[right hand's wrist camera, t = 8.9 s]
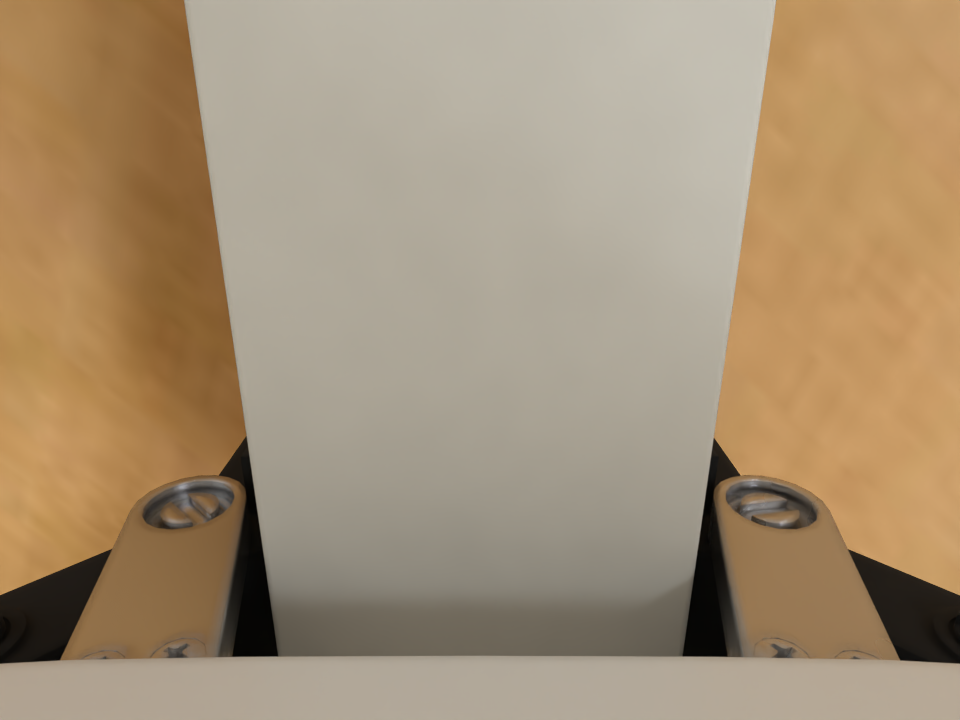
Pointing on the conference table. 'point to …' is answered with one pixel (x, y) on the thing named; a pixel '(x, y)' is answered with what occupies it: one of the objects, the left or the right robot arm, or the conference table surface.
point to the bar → (480, 307)
